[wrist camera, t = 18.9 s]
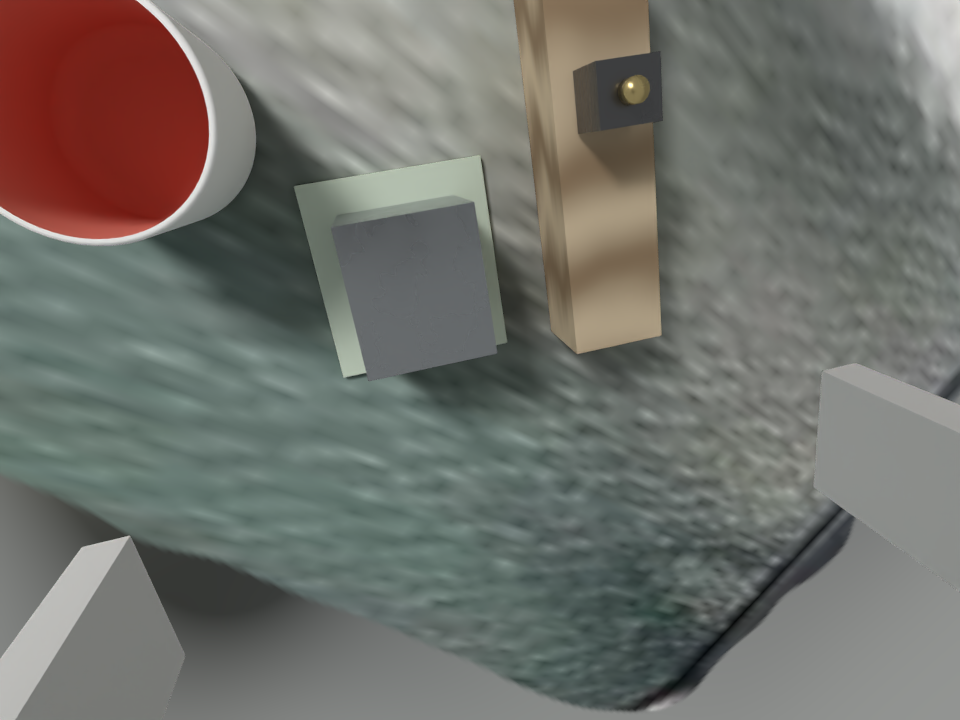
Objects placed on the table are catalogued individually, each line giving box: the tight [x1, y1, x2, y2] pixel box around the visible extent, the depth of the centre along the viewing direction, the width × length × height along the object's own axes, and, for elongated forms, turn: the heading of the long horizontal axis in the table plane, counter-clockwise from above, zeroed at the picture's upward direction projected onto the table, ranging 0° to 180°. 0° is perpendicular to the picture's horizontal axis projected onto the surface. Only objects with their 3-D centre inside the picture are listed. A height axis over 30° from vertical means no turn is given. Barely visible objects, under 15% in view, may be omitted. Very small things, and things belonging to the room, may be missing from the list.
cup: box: [0, 0, 256, 246], centre depth 26 cm, size 10×10×10 cm
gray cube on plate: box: [331, 195, 497, 381], centre depth 32 cm, size 8×7×7 cm
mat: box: [294, 155, 507, 377], centre depth 35 cm, size 12×11×1 cm
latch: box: [573, 51, 663, 134], centre depth 27 cm, size 3×3×4 cm
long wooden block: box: [514, 0, 661, 354], centre depth 33 cm, size 22×6×5 cm, turn 9°
